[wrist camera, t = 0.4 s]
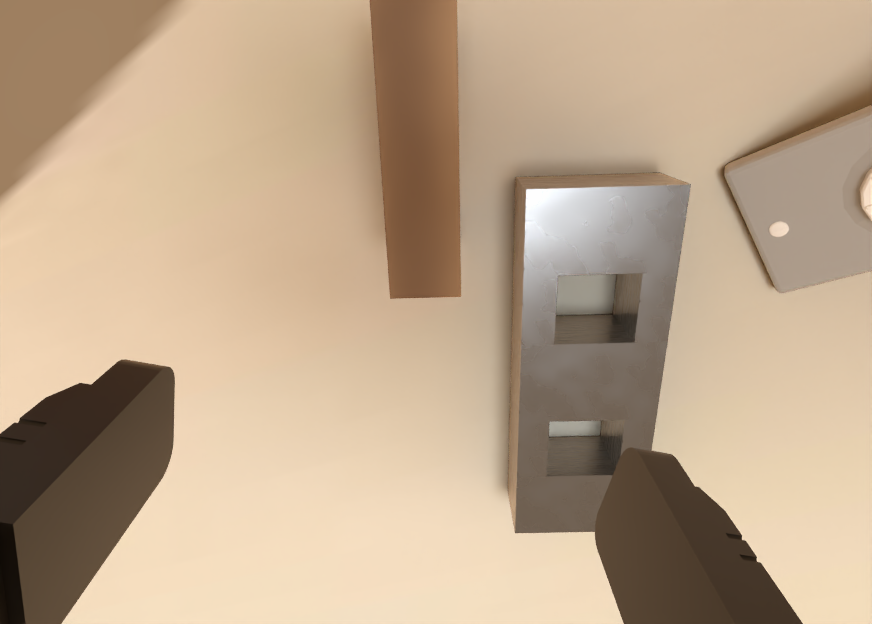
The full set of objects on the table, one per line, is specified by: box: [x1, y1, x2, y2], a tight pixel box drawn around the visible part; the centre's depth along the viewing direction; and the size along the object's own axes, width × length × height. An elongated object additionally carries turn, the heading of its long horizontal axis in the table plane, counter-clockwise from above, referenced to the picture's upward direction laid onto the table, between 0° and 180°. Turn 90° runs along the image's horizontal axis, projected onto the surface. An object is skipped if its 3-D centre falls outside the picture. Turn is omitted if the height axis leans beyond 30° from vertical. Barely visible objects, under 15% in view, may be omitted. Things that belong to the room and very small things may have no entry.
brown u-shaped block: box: [370, 0, 461, 299], centre depth 26 cm, size 3×12×8 cm, turn 2°
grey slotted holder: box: [508, 173, 691, 533], centre depth 32 cm, size 8×22×4 cm, turn 2°
